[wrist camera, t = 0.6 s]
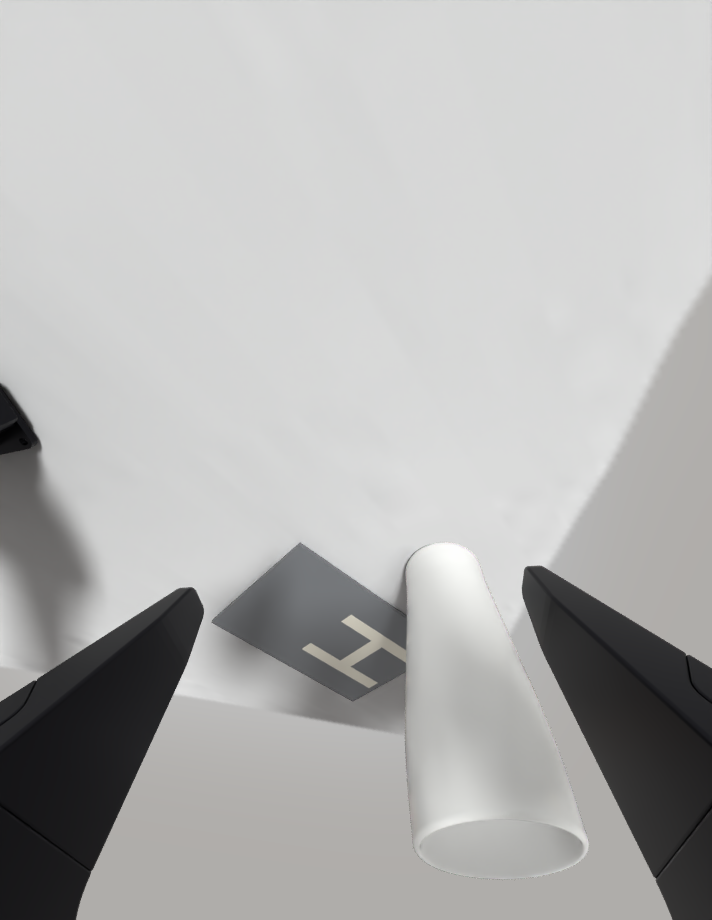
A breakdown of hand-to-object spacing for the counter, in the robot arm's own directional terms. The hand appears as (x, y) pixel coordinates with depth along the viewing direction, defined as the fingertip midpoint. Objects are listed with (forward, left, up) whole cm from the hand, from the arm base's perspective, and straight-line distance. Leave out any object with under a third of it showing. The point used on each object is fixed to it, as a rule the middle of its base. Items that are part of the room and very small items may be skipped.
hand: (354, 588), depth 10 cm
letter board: (-7, -19, -13) cm, 24 cm away
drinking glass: (+3, -13, -14) cm, 19 cm away
